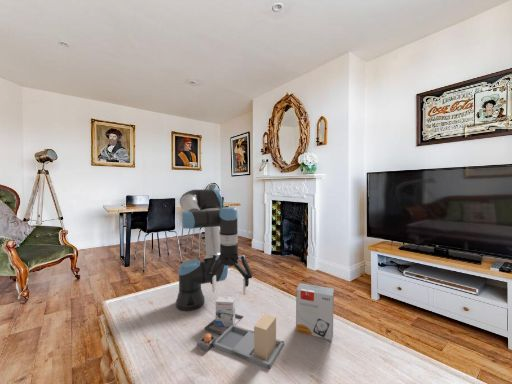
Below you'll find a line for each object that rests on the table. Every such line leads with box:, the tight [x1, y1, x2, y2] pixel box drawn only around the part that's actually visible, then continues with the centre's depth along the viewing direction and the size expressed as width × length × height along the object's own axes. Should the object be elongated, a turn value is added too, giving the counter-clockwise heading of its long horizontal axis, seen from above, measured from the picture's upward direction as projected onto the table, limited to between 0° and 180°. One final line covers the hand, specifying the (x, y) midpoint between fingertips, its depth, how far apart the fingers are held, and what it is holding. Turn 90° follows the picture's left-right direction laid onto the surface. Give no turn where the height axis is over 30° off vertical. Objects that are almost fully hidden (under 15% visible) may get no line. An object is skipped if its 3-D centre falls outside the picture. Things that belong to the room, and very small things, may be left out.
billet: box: [253, 313, 277, 361], centre depth 92 cm, size 5×9×12 cm, turn 152°
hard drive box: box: [295, 282, 335, 342], centre depth 105 cm, size 16×8×20 cm, turn 68°
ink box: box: [215, 296, 236, 328], centre depth 113 cm, size 9×5×12 cm, turn 84°
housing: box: [196, 332, 219, 352], centre depth 98 cm, size 6×6×2 cm
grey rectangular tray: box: [212, 324, 285, 370], centre depth 96 cm, size 25×14×2 cm, turn 62°
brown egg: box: [203, 333, 212, 343], centre depth 98 cm, size 3×3×4 cm
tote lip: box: [203, 313, 245, 336], centre depth 113 cm, size 12×16×1 cm
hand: (229, 292), depth 103 cm, fingers open, 13 cm apart
